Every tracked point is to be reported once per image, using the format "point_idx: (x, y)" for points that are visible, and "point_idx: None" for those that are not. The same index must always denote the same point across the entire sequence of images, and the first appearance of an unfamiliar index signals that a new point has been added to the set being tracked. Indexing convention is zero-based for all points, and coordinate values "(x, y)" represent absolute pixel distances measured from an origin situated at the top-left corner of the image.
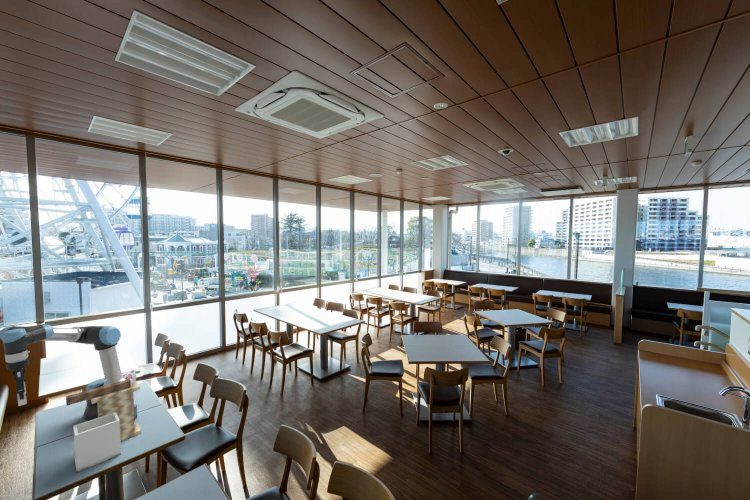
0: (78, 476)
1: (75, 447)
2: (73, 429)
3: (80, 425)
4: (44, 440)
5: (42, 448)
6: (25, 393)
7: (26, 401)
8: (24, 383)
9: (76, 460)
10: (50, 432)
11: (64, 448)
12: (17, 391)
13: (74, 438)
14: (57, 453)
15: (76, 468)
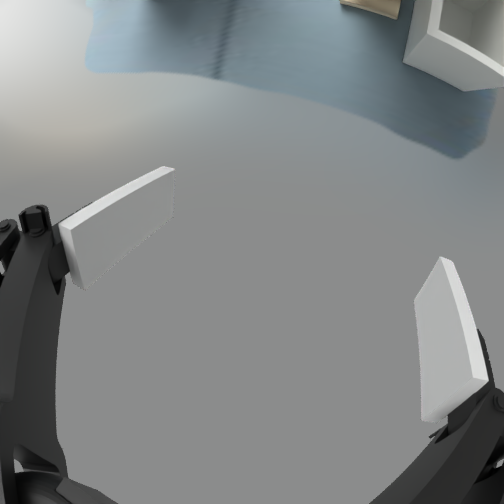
0: (482, 100)
1: (485, 83)
2: (423, 38)
3: (439, 20)
4: (195, 71)
5: (236, 81)
6: (482, 353)
7: (458, 276)
8: (84, 226)
9: (476, 89)
10: (165, 57)
11: (294, 47)
12: (489, 470)
13: (459, 62)
14: (307, 65)
15: (466, 90)
